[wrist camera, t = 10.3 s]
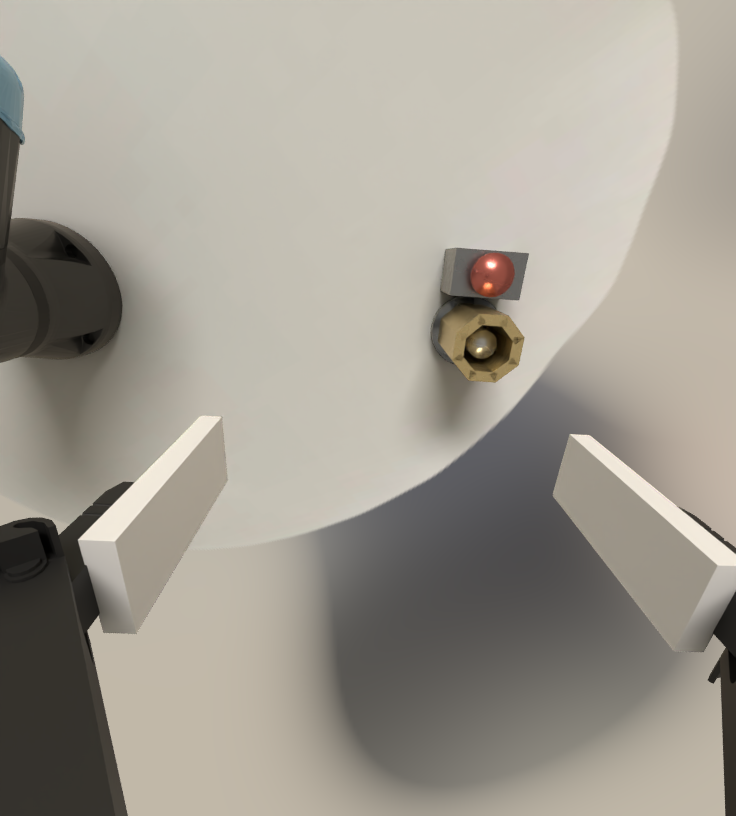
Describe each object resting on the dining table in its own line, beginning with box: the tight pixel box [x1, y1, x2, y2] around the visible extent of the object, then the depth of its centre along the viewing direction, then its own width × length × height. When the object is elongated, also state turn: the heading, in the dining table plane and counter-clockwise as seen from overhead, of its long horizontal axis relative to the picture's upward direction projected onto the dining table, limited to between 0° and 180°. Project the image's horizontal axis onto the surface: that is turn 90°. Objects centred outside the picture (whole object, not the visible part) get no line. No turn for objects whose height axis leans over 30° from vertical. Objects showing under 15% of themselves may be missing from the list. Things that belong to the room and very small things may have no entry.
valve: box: [431, 248, 529, 364], centre depth 41 cm, size 8×13×8 cm, turn 176°
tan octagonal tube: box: [438, 303, 524, 382], centre depth 41 cm, size 6×6×9 cm
